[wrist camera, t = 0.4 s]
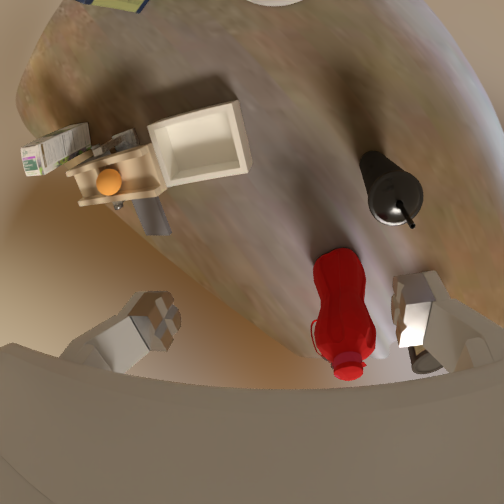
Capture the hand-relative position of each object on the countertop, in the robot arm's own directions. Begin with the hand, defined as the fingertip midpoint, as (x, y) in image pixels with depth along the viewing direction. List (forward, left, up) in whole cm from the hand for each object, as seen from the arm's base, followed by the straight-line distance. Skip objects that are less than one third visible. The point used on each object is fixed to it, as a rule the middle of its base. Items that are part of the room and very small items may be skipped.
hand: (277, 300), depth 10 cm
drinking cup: (+9, +12, -39) cm, 42 cm away
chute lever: (+5, -27, -34) cm, 44 cm away
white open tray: (+1, -15, -39) cm, 42 cm away
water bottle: (+30, +4, -39) cm, 50 cm away
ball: (+1, -27, -26) cm, 37 cm away
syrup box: (-7, -41, -39) cm, 57 cm away
